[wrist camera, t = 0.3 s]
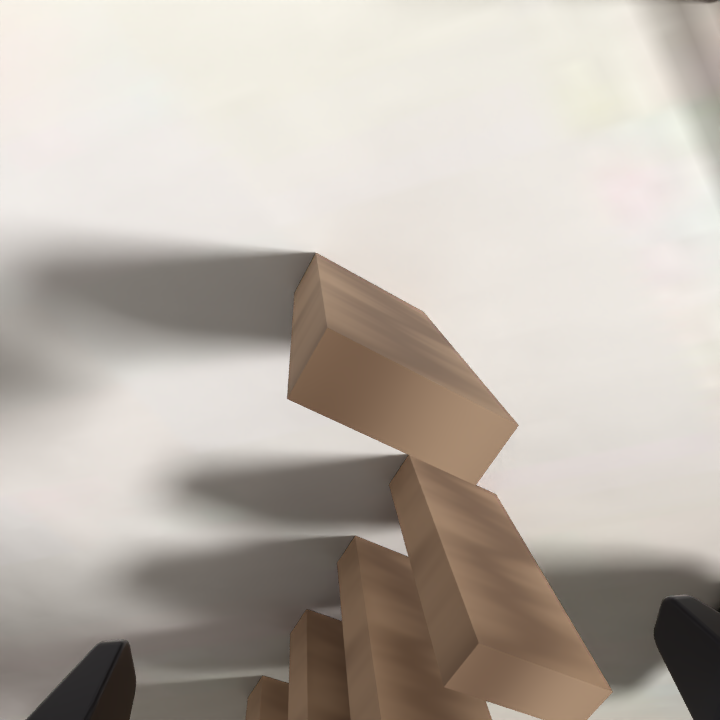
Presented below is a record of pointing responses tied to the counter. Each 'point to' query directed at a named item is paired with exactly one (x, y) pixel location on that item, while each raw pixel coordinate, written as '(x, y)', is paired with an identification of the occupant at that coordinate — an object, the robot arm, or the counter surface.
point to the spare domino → (390, 374)
